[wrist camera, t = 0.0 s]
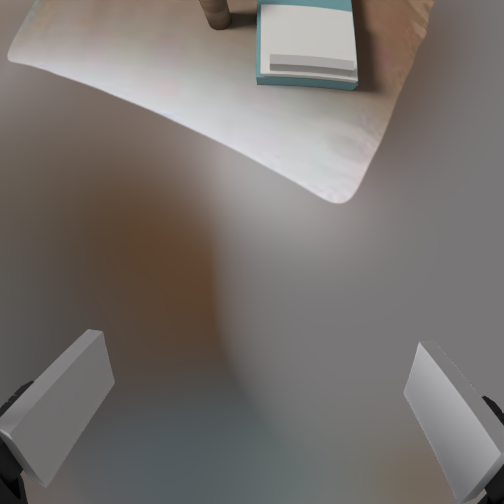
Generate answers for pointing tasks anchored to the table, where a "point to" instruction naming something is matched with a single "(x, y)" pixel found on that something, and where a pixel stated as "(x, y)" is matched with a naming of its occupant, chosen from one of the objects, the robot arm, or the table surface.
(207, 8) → the peg
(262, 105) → the table surface
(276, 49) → the cover
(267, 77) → the board
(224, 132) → the table surface
